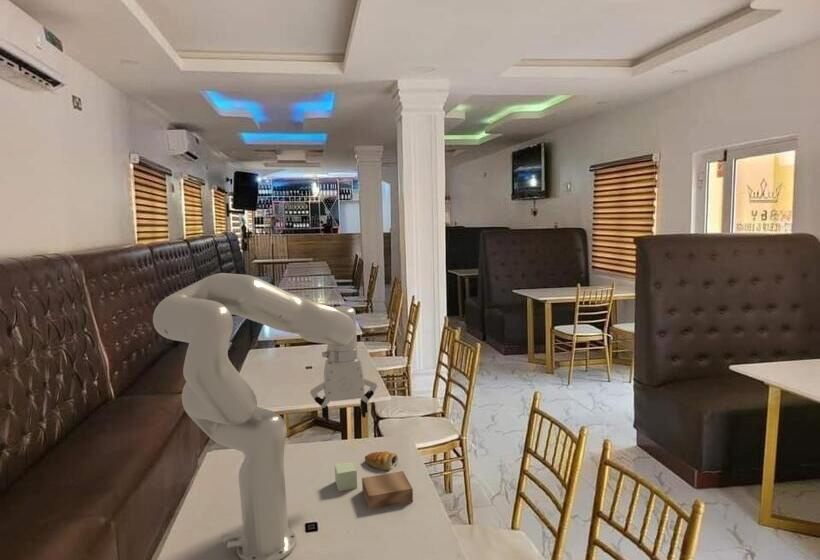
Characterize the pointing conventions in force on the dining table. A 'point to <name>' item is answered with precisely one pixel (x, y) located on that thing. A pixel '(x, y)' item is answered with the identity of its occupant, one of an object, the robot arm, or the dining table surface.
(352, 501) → the dining table surface
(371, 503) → the walnut block
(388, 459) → the pastry
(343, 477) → the green cube
